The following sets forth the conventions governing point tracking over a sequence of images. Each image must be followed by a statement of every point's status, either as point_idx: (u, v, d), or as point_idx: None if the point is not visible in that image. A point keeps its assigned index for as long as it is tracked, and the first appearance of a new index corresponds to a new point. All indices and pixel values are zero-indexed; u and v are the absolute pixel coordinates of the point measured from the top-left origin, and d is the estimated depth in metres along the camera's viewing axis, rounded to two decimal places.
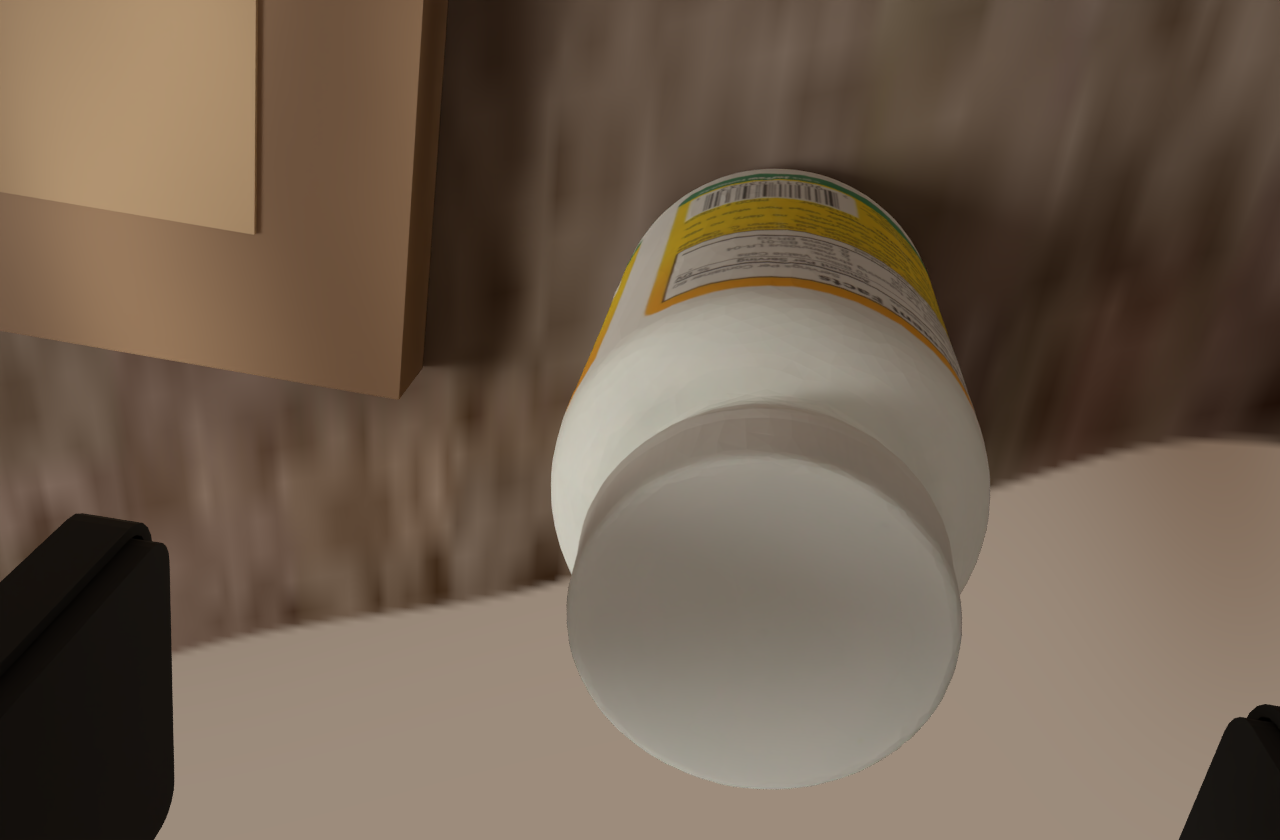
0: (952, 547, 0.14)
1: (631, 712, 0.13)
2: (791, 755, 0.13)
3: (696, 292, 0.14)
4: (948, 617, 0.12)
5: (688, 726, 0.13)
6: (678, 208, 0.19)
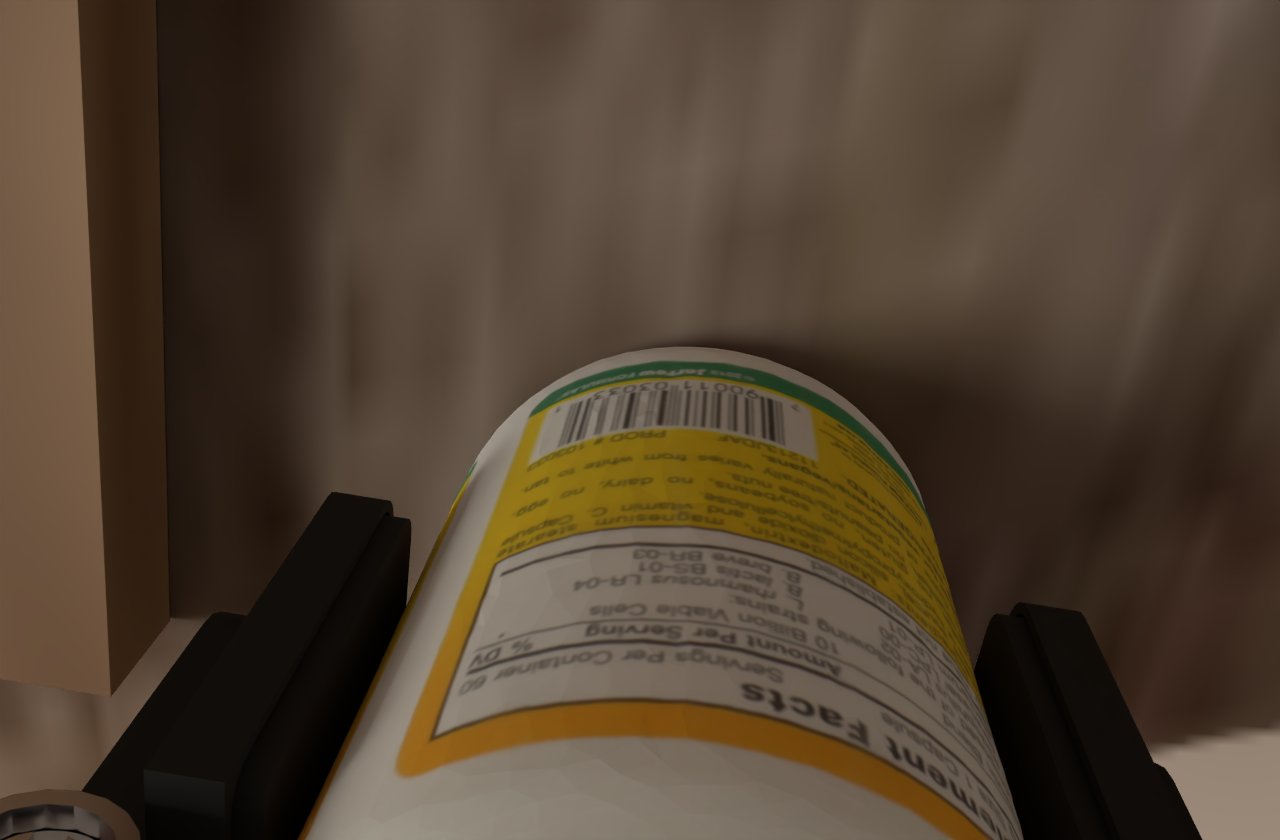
0: None
1: None
2: None
3: (492, 737, 0.07)
4: None
5: None
6: (528, 423, 0.12)
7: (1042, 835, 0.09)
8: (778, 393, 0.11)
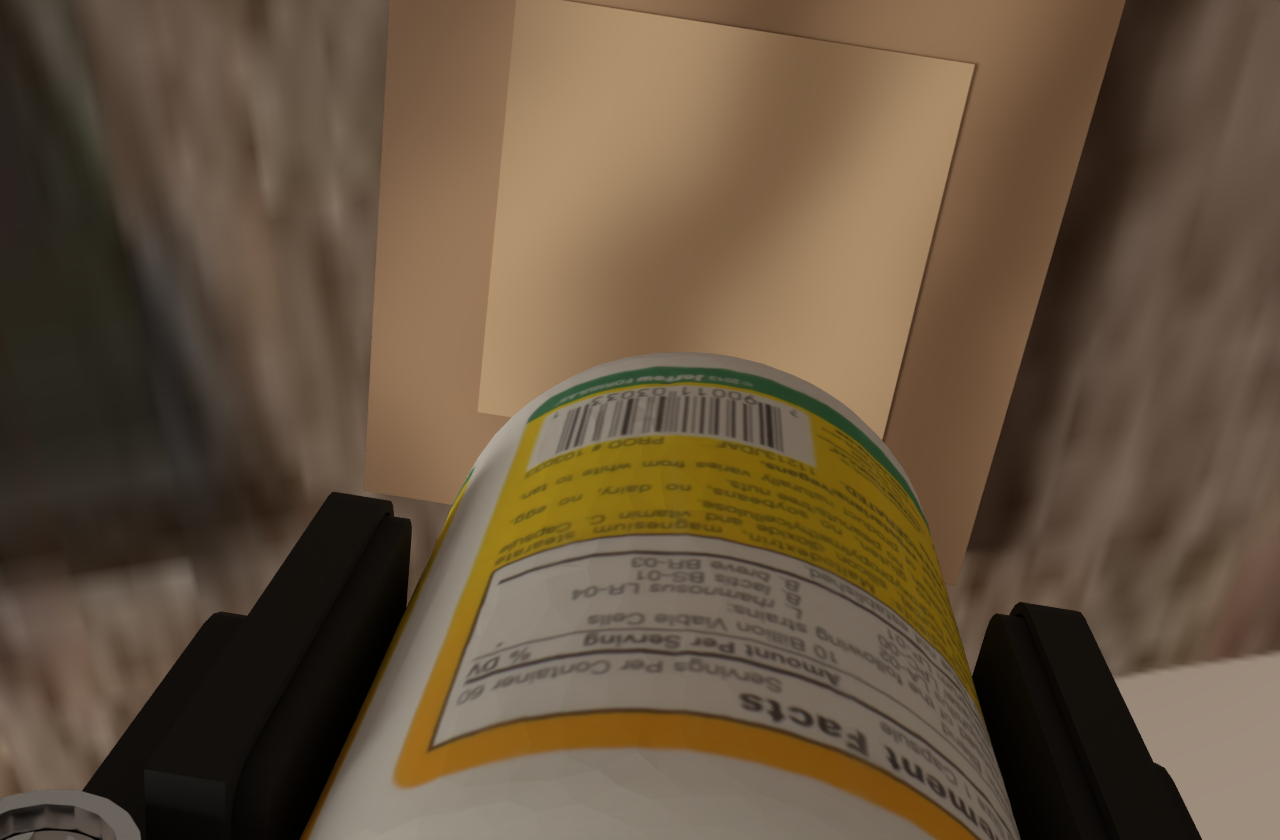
0: None
1: None
2: None
3: (490, 748, 0.07)
4: None
5: None
6: (525, 428, 0.12)
7: (1042, 834, 0.09)
8: (776, 399, 0.11)
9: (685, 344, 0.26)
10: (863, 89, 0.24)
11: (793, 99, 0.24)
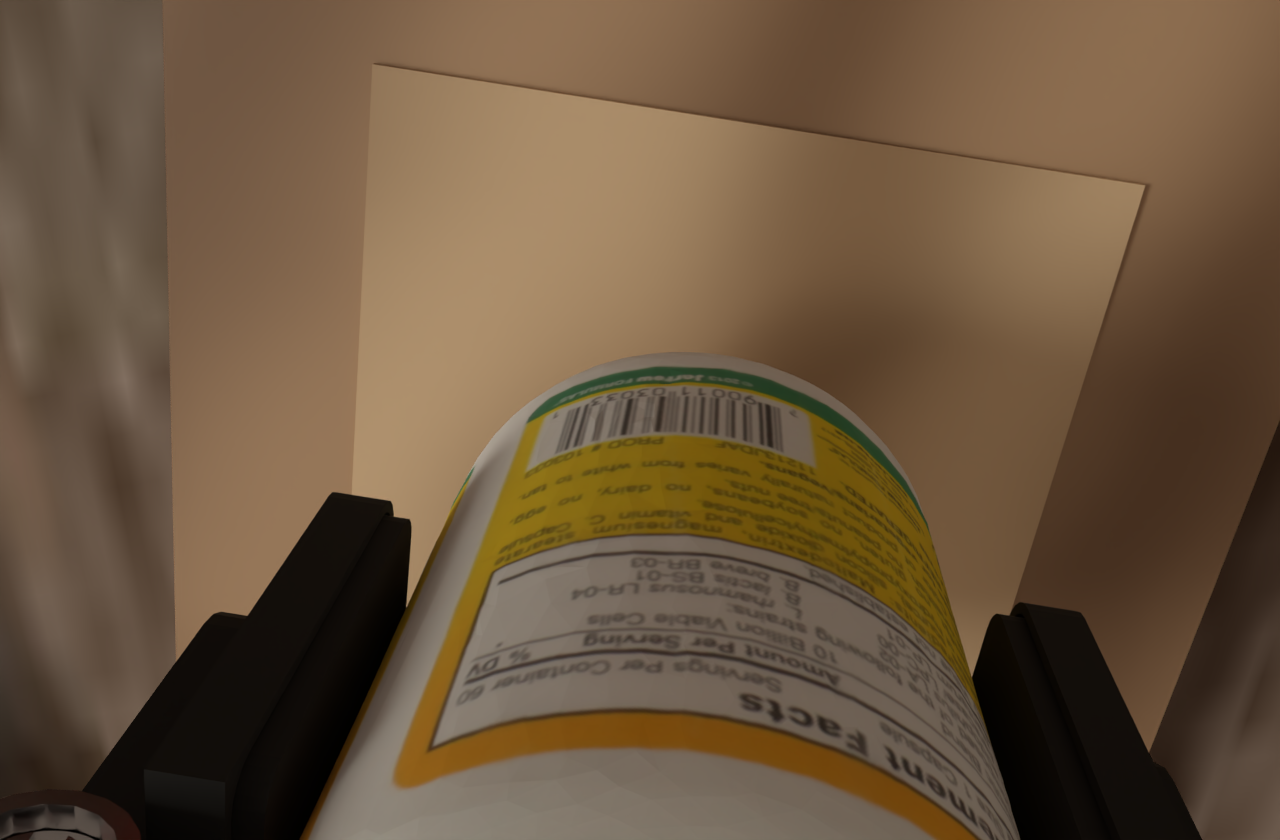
0: None
1: None
2: None
3: (490, 747, 0.07)
4: None
5: None
6: (525, 428, 0.12)
7: (1042, 834, 0.09)
8: (776, 399, 0.11)
9: None
10: (954, 224, 0.14)
11: (836, 239, 0.14)
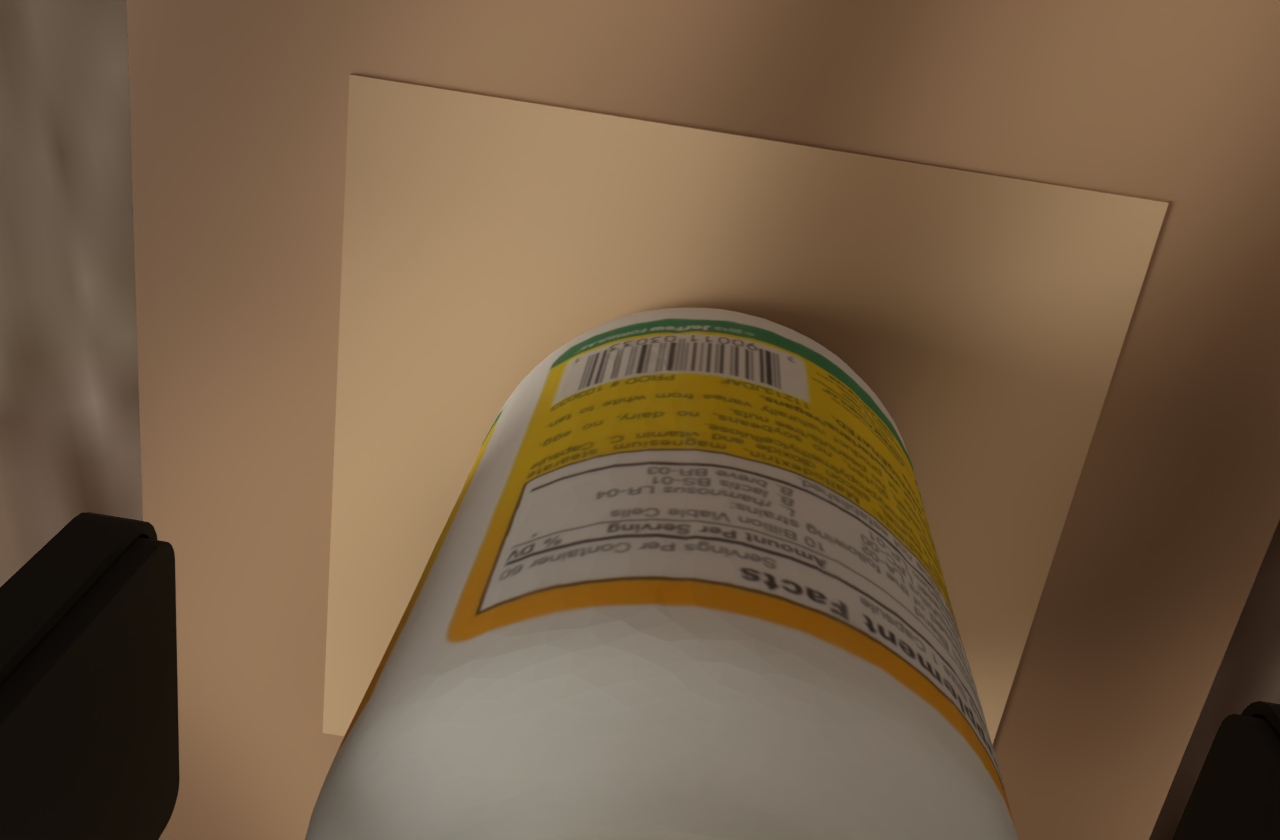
0: None
1: None
2: None
3: (530, 607, 0.08)
4: None
5: None
6: (550, 373, 0.13)
7: None
8: (775, 346, 0.13)
9: None
10: (966, 243, 0.13)
11: (841, 259, 0.14)
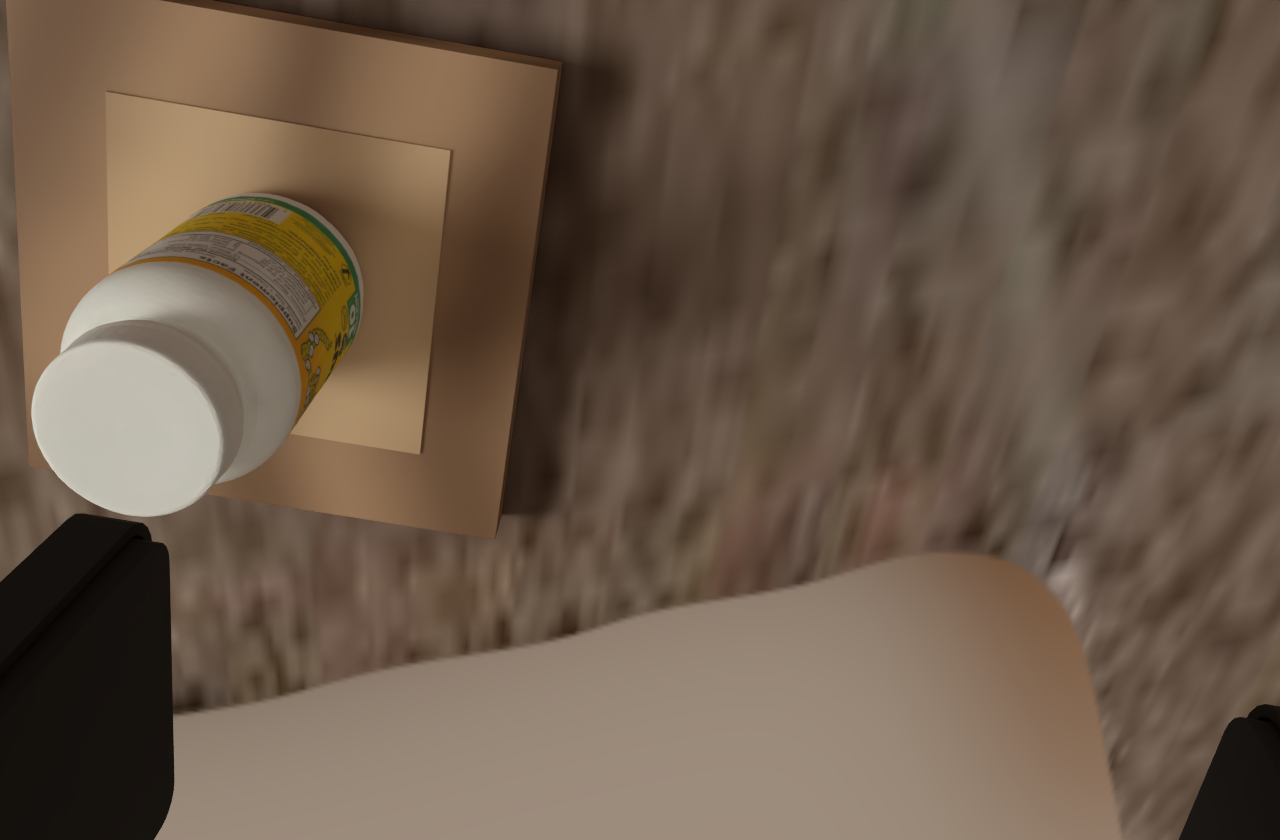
0: (264, 398, 0.27)
1: (72, 475, 0.25)
2: (155, 496, 0.25)
3: (130, 264, 0.26)
4: (213, 420, 0.24)
5: (101, 482, 0.25)
6: (189, 217, 0.31)
7: None
8: (280, 206, 0.31)
9: None
10: (371, 167, 0.32)
11: (321, 173, 0.32)
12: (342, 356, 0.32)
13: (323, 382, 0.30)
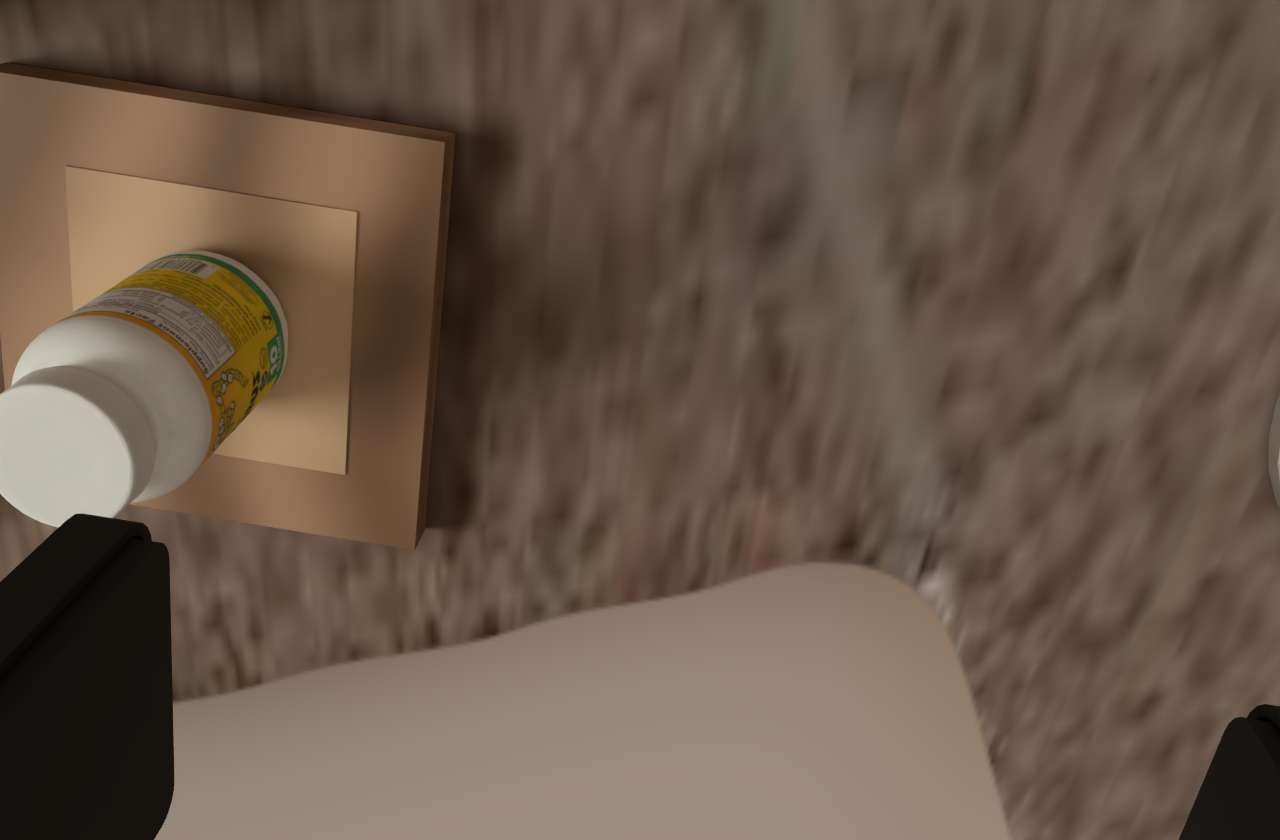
0: (176, 429, 0.32)
1: (13, 495, 0.30)
2: (80, 512, 0.30)
3: (66, 318, 0.32)
4: (124, 449, 0.29)
5: (37, 500, 0.30)
6: None
7: None
8: (210, 262, 0.36)
9: None
10: (290, 226, 0.37)
11: (248, 232, 0.37)
12: (267, 390, 0.37)
13: (242, 414, 0.35)
